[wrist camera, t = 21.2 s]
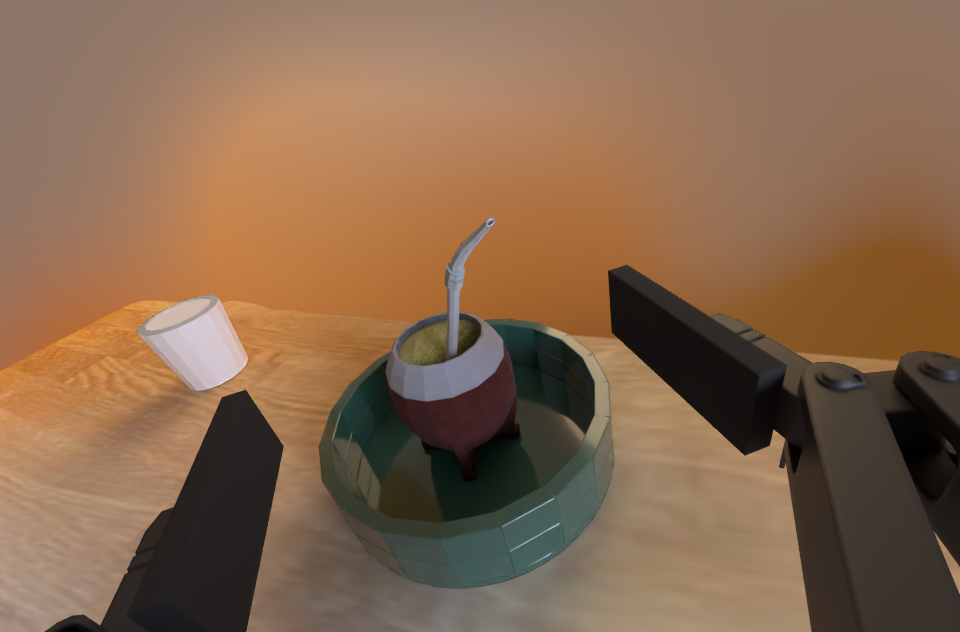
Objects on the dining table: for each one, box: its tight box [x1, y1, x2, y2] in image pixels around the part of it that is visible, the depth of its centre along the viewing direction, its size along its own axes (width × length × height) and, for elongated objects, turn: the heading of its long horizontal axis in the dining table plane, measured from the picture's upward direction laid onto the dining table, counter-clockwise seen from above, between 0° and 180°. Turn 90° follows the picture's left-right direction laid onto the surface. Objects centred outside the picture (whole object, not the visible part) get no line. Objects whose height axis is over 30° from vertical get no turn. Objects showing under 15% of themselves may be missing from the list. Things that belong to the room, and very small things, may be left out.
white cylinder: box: [137, 295, 248, 391], centre depth 40 cm, size 7×7×7 cm
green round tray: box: [319, 319, 614, 588], centre depth 25 cm, size 17×17×4 cm
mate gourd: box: [386, 218, 520, 482], centre depth 22 cm, size 8×8×15 cm
